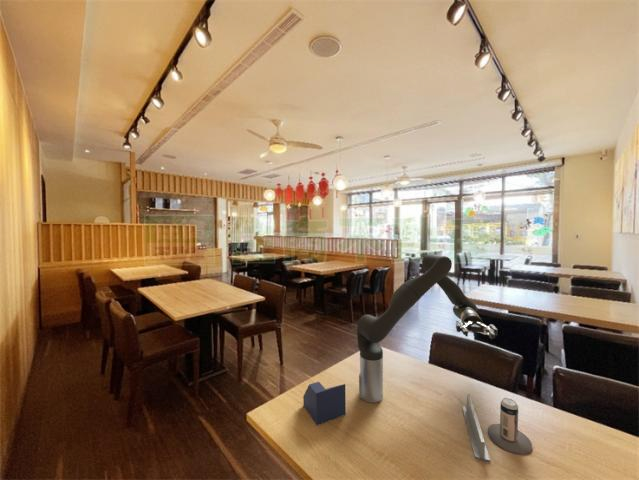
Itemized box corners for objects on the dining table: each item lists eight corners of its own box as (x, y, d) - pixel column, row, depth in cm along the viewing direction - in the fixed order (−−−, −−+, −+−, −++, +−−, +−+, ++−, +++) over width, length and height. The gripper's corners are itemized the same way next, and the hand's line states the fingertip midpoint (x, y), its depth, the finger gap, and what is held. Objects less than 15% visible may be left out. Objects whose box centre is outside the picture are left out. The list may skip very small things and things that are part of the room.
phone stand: (330, 396, 114) (329, 368, 113) (345, 414, 103) (345, 383, 102) (303, 405, 108) (302, 376, 108) (316, 425, 98) (316, 393, 97)
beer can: (520, 443, 87) (521, 407, 87) (503, 441, 88) (504, 405, 88) (513, 432, 92) (514, 397, 91) (497, 430, 93) (498, 396, 92)
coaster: (492, 448, 86) (492, 446, 86) (483, 422, 98) (483, 420, 98) (538, 458, 83) (538, 456, 83) (523, 430, 94) (523, 428, 94)
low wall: (475, 459, 83) (475, 440, 82) (462, 408, 105) (462, 392, 105) (490, 462, 81) (490, 443, 81) (473, 410, 104) (474, 394, 104)
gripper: (453, 310, 122) (458, 323, 107) (490, 313, 117) (501, 327, 102) (453, 327, 122) (458, 342, 107) (489, 330, 118) (501, 347, 102)
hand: (479, 335), depth 105 cm, fingers open, 8 cm apart
